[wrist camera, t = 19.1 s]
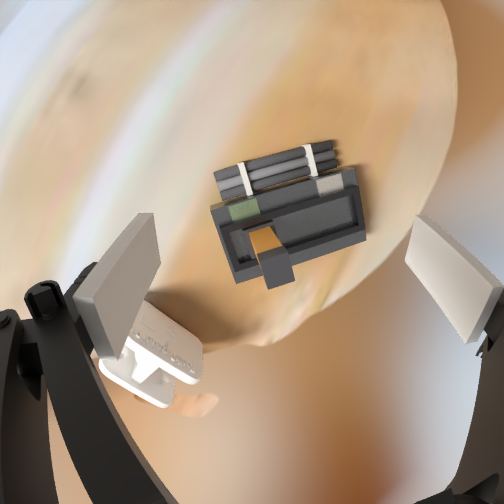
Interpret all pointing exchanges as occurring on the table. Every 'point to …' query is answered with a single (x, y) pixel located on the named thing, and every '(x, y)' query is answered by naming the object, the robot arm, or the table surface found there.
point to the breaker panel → (294, 219)
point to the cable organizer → (156, 357)
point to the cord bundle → (275, 169)
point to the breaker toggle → (269, 253)
